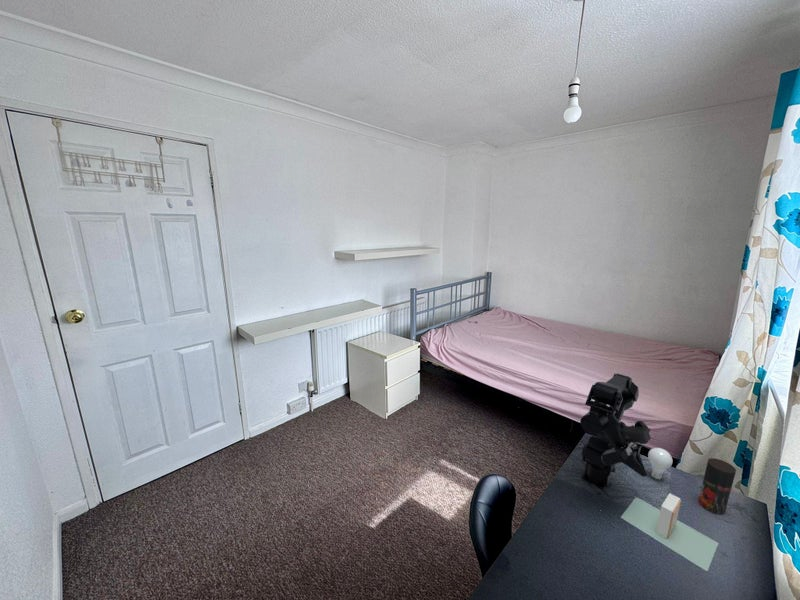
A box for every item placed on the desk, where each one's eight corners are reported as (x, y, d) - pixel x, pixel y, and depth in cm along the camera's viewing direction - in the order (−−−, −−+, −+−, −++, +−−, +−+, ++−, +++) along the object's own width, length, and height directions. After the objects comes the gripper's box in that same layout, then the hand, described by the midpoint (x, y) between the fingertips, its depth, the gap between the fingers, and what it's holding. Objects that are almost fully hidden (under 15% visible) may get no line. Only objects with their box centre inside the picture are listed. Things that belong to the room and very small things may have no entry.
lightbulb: (644, 479, 109) (650, 451, 106) (644, 468, 114) (649, 441, 112) (669, 488, 105) (675, 459, 103) (667, 475, 111) (673, 448, 108)
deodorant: (730, 517, 95) (741, 474, 91) (706, 514, 96) (717, 471, 93) (715, 500, 100) (725, 459, 97) (693, 498, 102) (702, 457, 98)
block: (655, 532, 90) (661, 505, 88) (664, 518, 94) (669, 493, 92) (667, 539, 88) (673, 512, 86) (675, 525, 92) (681, 499, 90)
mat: (620, 518, 95) (620, 517, 95) (635, 498, 102) (636, 496, 102) (706, 573, 80) (707, 571, 80) (718, 544, 87) (718, 543, 87)
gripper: (619, 427, 88) (662, 487, 82) (644, 405, 99) (683, 456, 93) (585, 437, 96) (622, 493, 90) (612, 416, 107) (646, 464, 101)
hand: (644, 475), depth 93 cm, fingers closed
